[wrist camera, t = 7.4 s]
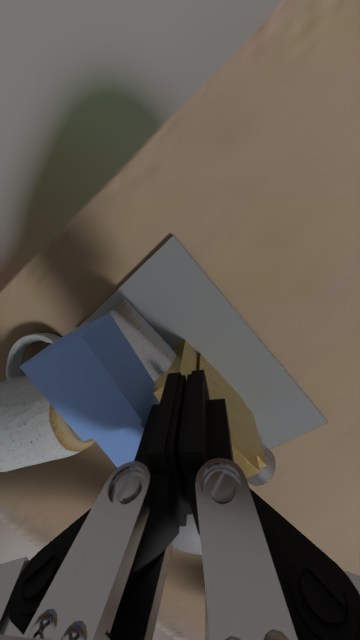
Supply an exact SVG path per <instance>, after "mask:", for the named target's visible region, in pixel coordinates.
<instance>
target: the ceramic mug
mask: <svg viewBox="0 0 360 640" xmlns="http://www.w3.org/2000/svg"><path fill="white" fill-rule="evenodd" d="M59 338H61V337H59V336H57V335H55V334H51V333H33V334H28V335H26V336H24V337H21V338H20V339H18V340H17V341H16V342H15V344H14V345H13V346H12V348H11V350H10V353H9V355H8V358H7V364H6V380H4V381H2V382H0V472H6V471H11V470H14V469H18V468H22V467H26V466H31V465H35V464H40V463H44V462H48V461H52V460H57V459H61V458H65V457H69V456H72V455H74V454H77V453H79V452H81V451H83V450H85V449H87V448H88V447H90V446H91V445H92V444H93V443H94V442H95V440H94V439H93V438H92V439H88V440H85V441H82V440H81V439H80V438H79V436H78V435H77V434H76V433H75V432H74V431H73V429H72V428H71V427H70V426H69V425H68V424H67V422H66V421H65V420H64V419H63V418H62V416H61V415H60V414H59V413H58V412H57V411H56V409H55V408H54V407H53V406H52V405H51V403H50V402H49V401H48V400H47V399H46V398H45V396H44V395H43V394H42V393H41V392H40V391H39V389H38V388H37V387H36V386H35V385H34V383H33V382H32V381H31V380H30V379H29V378H28V376H27V375H25V376H23V371H22V369H21V368H20V367H19V366H21V365H22V364H23V358H24V354H25V351H26V349H27V348H28V346H29V345H30V344H32V343H33V342H39V341H43V342H46V343H51V344H52V343H53V342H54V341H56V340H57V339H59Z"/></svg>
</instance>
